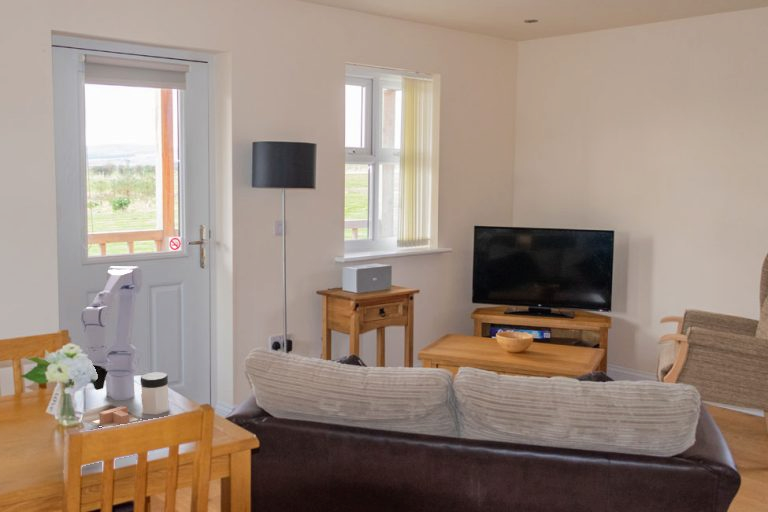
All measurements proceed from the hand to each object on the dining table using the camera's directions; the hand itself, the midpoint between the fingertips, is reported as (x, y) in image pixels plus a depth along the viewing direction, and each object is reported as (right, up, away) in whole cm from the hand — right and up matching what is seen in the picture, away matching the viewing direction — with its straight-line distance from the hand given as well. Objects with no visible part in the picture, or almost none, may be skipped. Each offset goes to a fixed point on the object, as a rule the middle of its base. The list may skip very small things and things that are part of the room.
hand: (99, 388), depth 244 cm
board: (+3, -10, 0) cm, 10 cm away
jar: (+16, -9, +6) cm, 19 cm away
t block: (+8, -9, -5) cm, 13 cm away
